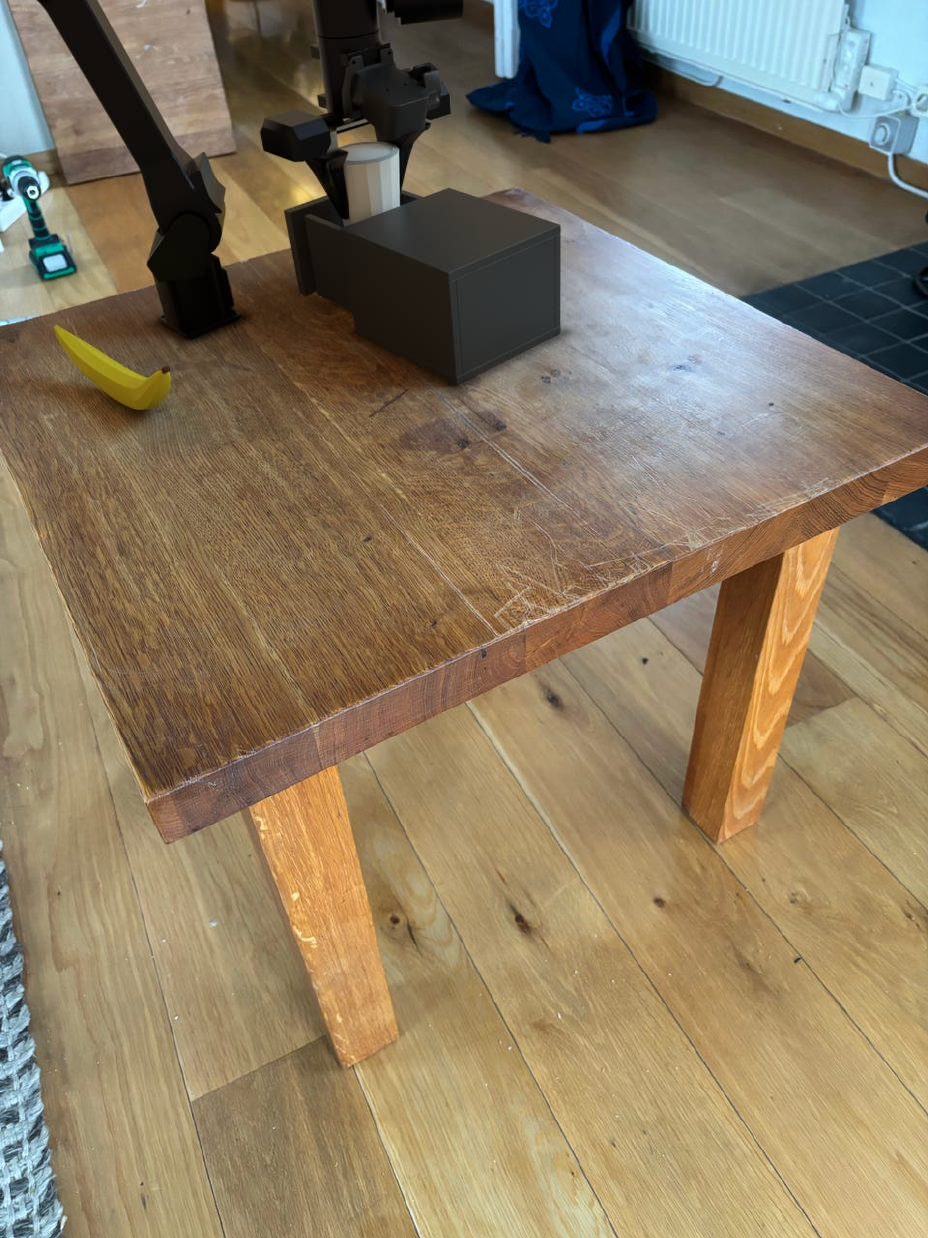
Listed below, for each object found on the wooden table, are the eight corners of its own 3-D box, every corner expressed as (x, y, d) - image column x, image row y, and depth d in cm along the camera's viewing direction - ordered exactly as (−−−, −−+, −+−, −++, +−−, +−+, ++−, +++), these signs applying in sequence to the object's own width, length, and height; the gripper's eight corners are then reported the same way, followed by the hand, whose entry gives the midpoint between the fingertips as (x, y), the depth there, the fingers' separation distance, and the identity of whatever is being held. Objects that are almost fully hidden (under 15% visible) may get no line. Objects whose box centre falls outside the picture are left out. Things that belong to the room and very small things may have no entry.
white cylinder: (324, 229, 98) (313, 156, 93) (369, 207, 101) (360, 135, 97) (375, 242, 94) (366, 167, 90) (419, 219, 98) (413, 145, 93)
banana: (85, 365, 96) (63, 305, 92) (200, 424, 87) (181, 360, 82) (59, 377, 95) (35, 316, 91) (173, 439, 85) (153, 374, 81)
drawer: (277, 282, 106) (260, 200, 100) (367, 247, 112) (356, 167, 106) (382, 334, 95) (370, 246, 89) (475, 292, 101) (470, 206, 95)
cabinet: (355, 333, 98) (339, 228, 91) (456, 289, 104) (448, 187, 97) (457, 385, 89) (448, 272, 82) (560, 333, 95) (561, 224, 88)
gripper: (314, 67, 77) (342, 259, 88) (485, 20, 86) (492, 201, 97) (240, 48, 84) (275, 229, 94) (407, 6, 92) (421, 177, 103)
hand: (369, 209), depth 97 cm, fingers closed on white cylinder, 6 cm apart
